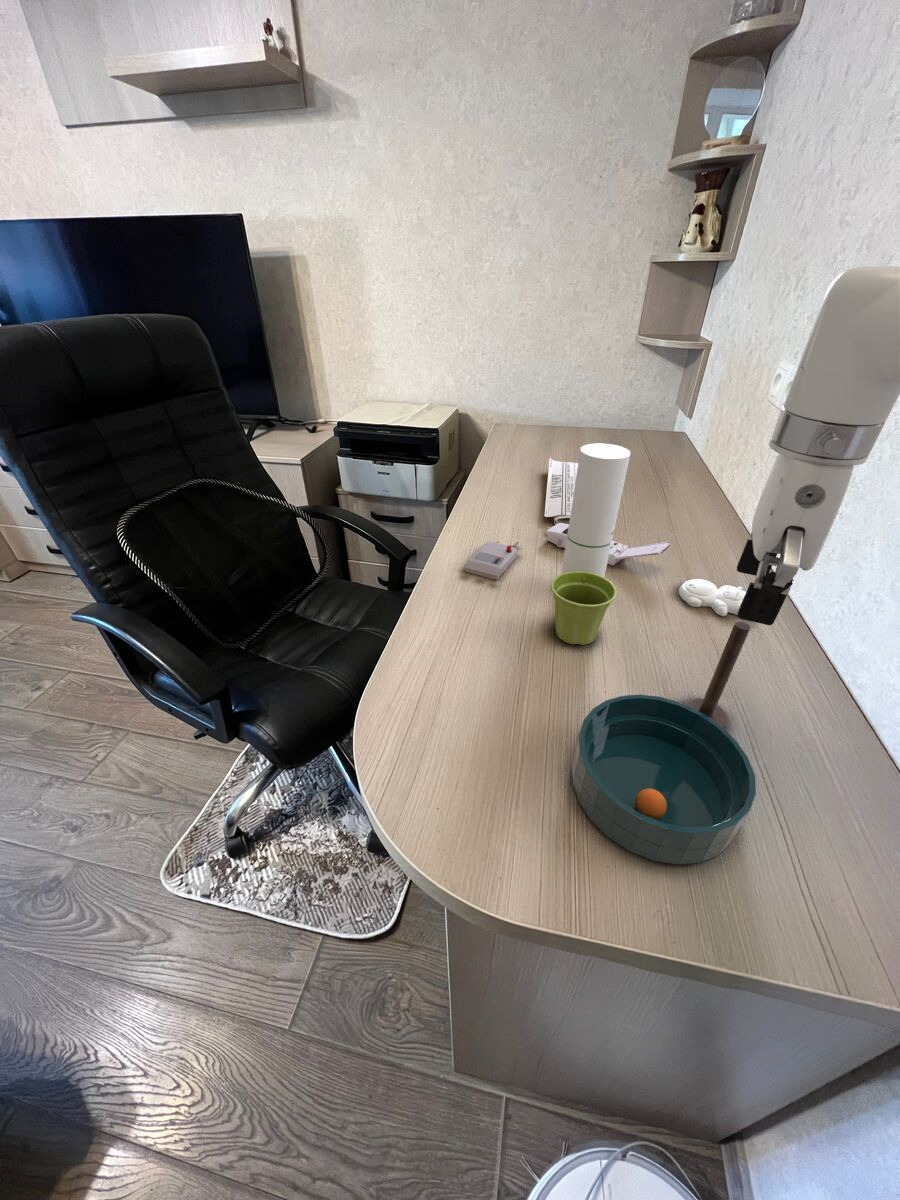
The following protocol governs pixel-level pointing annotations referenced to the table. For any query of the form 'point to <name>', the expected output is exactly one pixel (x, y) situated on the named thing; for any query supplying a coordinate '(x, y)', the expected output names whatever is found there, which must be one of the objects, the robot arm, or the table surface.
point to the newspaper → (560, 490)
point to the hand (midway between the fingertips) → (752, 595)
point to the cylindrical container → (595, 507)
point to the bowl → (662, 778)
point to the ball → (651, 803)
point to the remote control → (491, 560)
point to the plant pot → (580, 605)
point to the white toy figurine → (712, 596)
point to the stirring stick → (722, 675)
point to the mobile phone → (617, 549)
